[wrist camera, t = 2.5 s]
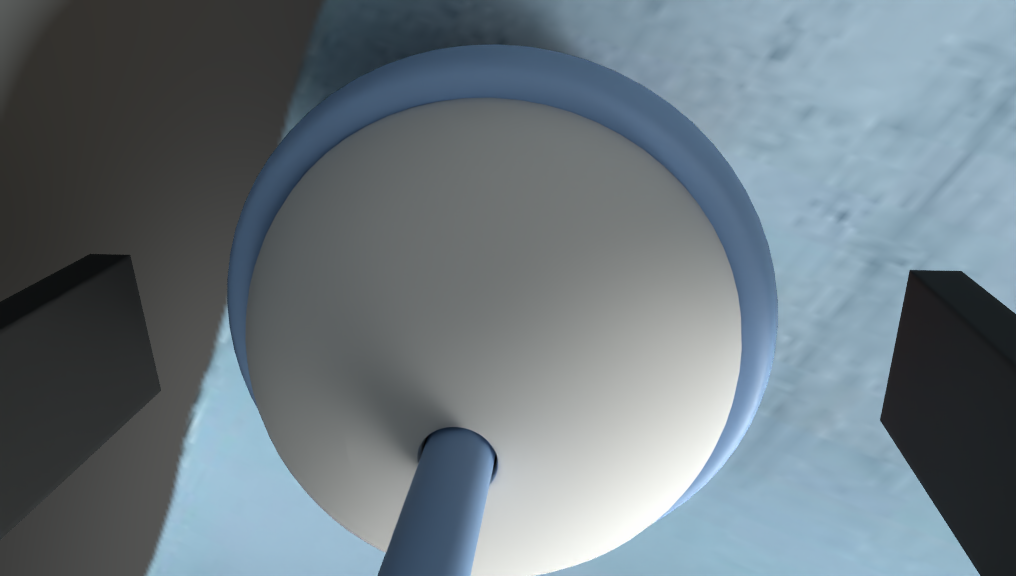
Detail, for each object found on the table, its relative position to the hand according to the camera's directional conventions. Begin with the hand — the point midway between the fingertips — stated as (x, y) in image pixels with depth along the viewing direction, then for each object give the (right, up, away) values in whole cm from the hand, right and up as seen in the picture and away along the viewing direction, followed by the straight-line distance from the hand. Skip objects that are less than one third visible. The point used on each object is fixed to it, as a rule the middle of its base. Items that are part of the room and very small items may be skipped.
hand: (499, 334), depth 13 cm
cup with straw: (+1, +4, +9) cm, 10 cm away
